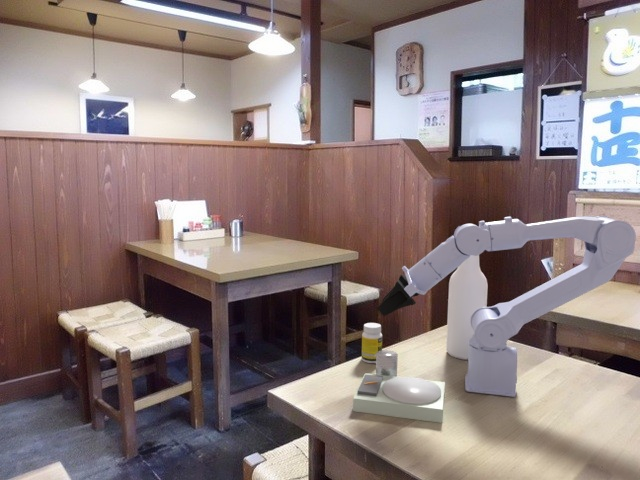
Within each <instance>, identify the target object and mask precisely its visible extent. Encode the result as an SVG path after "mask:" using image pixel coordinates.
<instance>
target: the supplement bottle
mask: <svg viewBox="0 0 640 480" xmlns="http://www.w3.org/2000/svg"><path fill="white" fill-rule="evenodd" d="M382 350H383V334H382V325H381V324H380V323H376V322H367V323H364V324H363V332H362V333H361V360H362V361H363V363H367V364H376V353H377V352H378V351H382Z"/></svg>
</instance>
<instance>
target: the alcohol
mask: <svg viewBox="0 0 640 480" xmlns="http://www.w3.org/2000/svg"><path fill="white" fill-rule="evenodd" d="M488 286H489V285H488V279H487V278H486V276H485V274H484V273H483V272H482V270H481V266H480V254H479V255H477V256H474V255H470V257H469V258H468V259H466V260H465V261H464V262H463V263H461V265H460V266H459V267H457V268H456V269H455V270H454V271H453V273H452V274H451V276H450V278H449V282H448V299H447V300H448V302H447V321H446V322H447V325H446V345H445V346H446V352H447V353H448V355H449V356H451V357H452V358H455V359H459V360H462V361H464V360H465V361H468V359H469V340H470V339H471V338H472V337H473V335H474V330H473V328H472V326H471V316H472V314H473V313H474V312H475V311H476V310H477V309H479V308H482V307H488V306H487V305H488Z"/></svg>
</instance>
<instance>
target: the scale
mask: <svg viewBox="0 0 640 480" xmlns="http://www.w3.org/2000/svg"><path fill="white" fill-rule="evenodd" d="M445 388H446V382H445V381H436V380H429V379H425V378H420V377H414V376H397V377H394V376H386V375H377V374H376V373H375V374H374V373H364V375H363V377H362V379H361V381H360V383H359V385H358V387H357V389H356V391H355V393H354V396H353V399H352V412H357V413H363V414H371V415H373V414H374V415H378V416H388V417H393V418H401V419H409V420H417V421H423V422H424V421H425V422H434V423H440V424H442V423H443V416H444V406H445V405H444V403H445V393H446V391H445V390H446V389H445Z"/></svg>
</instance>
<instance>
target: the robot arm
mask: <svg viewBox="0 0 640 480" xmlns="http://www.w3.org/2000/svg"><path fill="white" fill-rule="evenodd" d="M636 234H637V233H636V232H635V229H634V227H633V226H632V224H630V223H629V222H627V221H624V220H620V219H614V218H611V217H609V216H606V215H598V216H584V215H583V216H573V217H564V218H559V219H553V220H545V221H539V222H533V223H527V224H526V223H524V222H523V221H522V220H520V219H519V218H513V217H512V216H505V217H503V220H497V221H488V222H485V220H480V221H478V225H476V224H474V223H465V224H462V225H458V226H457V227H456V229H455V230H454V233H453V235H451V236H450V237H448V238H447V239H446V240H445V241H443V242H440V244H439V245H438V246H436V247H435V248H434V249H432V250H431V251H430V252H429V253H428V254H426V255H425V256H423V257H422V258H421V259H420V260H419V261H418V262H417V263H415V264H414V265H413V266H412V267H410V268H407V266H406V265H403V266H402V267H401V269H402V271H403V272H404V274H403V273H401V274H400V276H399V277H398V279H397V280H396V283H395V285H394V286H393V287H392V289H391V290H389V292H388V293H387V294H386V295H385V296H384V297H383V299H382V300H381V303H380V304H379V305H378V307H377V308H376V309H377V310H378V312H379V313H380V314H381V315H382V316H383V317H386V316H388V315H390V314H392V313H394V312H395V311H397V310H399V309H402V308H405V307H409V306H410V307H411V306H414V305H415V304H416V302H417V301H415V299H414V298H413V297H417V296H419V295H423V296H425V295H426V294H427V292H428V291H429V290H431V289H432V288H433V287H435V286H436V285H437V284H438V283H439V282H441V281H442V280H443V279H445V278H446V277H447V276H448V275H450V274H451V273H452V272H454V271H456V270H457V268H458V267H459V266H460V265H461V263H463V262H464V261H465V260H466V259H468V258H469V257H470V255H474V256H477V255H479V256H480V255H481V254H482V253H484V252H485V251H487V252H495V251H496V252H497V251H504V250H515V249H521V248H523V247H524V245H525V244H526V243H527V242H529V241H539V240H553V239H566V238H573V239H577V240H579V241H582V242H584V254H583V259H582V263H581V264H579V265H577V266H575V267H573V268H571V269H569V270H567V271H565V272H564V273H562V274H560V275H558V276H556V277H554V278H552V279H550V280H548V281H546V282H545V283H542V284H541V285H539V286H536V287H534V288H533V289H531V290H529V291H526V292H525V293H523V294H522V295H519V296H517V297H516V298H514V299H512V300H510V301H506V302H499V303H497V304H495V305H492V306H487V307H482V308H479V309H477V310H476V311H475V312H474V313H473V314H472V316H471V326H472V328H473V330H474V335H473V337H472V338H471V339H470V340H469V359H468V360H467V361H468V363H467V374H464V375H465V378H464V379H465V380H464V382H465V384H464V385H465V388H464V389H465V391H466V392H470V393H475V394H476V393H477V394H486V395H493V396H504V397H511V398H515V397H516V395H517V393H516V390H517V389H516V388H517V382H518V374H517V373H518V350H517V347H515V346H510V345H507V342H508V341H509V340H510V338H512V337H514V336H516V335H517V334H519V332H520V330H521V328H522V327H523V326H524V325H525V324H528V323H529V322H532V321H533V320H535V319H537V318H540V317H542V316H543V315H545V314H548V313H549V312H551V311H553V310H555V309H557V308H559V307H561V306H563V305H565V304H568V303H569V302H572V301H573V300H575V299H577V298H579V297H581V296H583V295H586V294H587V293H589V292H591V291H593V290H594V289H597V288H598V287H600V286H603V285H604V284H607V283H608V282H609V281H611V280H612V279H613V277H614V276H615V274H616V273H617V272H618V270H620V267H621V266H622V264H623V263H624V261H626V259H627V258H628V257H630V256H631V255H633V254H634V251H635V245H636V238H637V236H636Z"/></svg>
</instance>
